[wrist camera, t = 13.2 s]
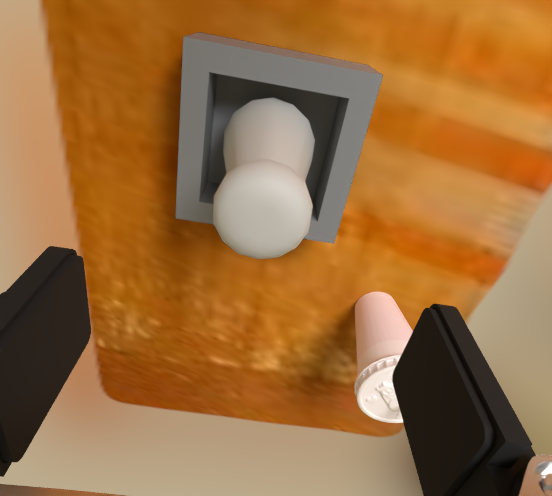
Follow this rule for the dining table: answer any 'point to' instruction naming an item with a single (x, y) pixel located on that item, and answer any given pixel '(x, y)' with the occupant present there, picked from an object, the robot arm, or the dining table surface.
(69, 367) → the robot arm
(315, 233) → the socket holder
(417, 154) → the dining table surface
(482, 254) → the dining table surface
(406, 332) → the smoothie
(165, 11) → the dining table surface
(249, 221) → the salt shaker
